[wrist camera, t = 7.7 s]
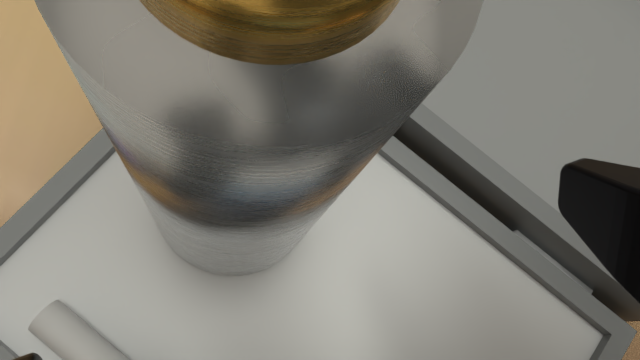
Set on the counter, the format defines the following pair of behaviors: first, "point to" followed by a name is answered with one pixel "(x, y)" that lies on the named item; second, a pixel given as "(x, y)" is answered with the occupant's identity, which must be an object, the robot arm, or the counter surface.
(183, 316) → the lid
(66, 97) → the counter surface
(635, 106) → the case
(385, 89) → the grey cylinder
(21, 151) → the counter surface
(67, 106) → the counter surface
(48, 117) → the counter surface
